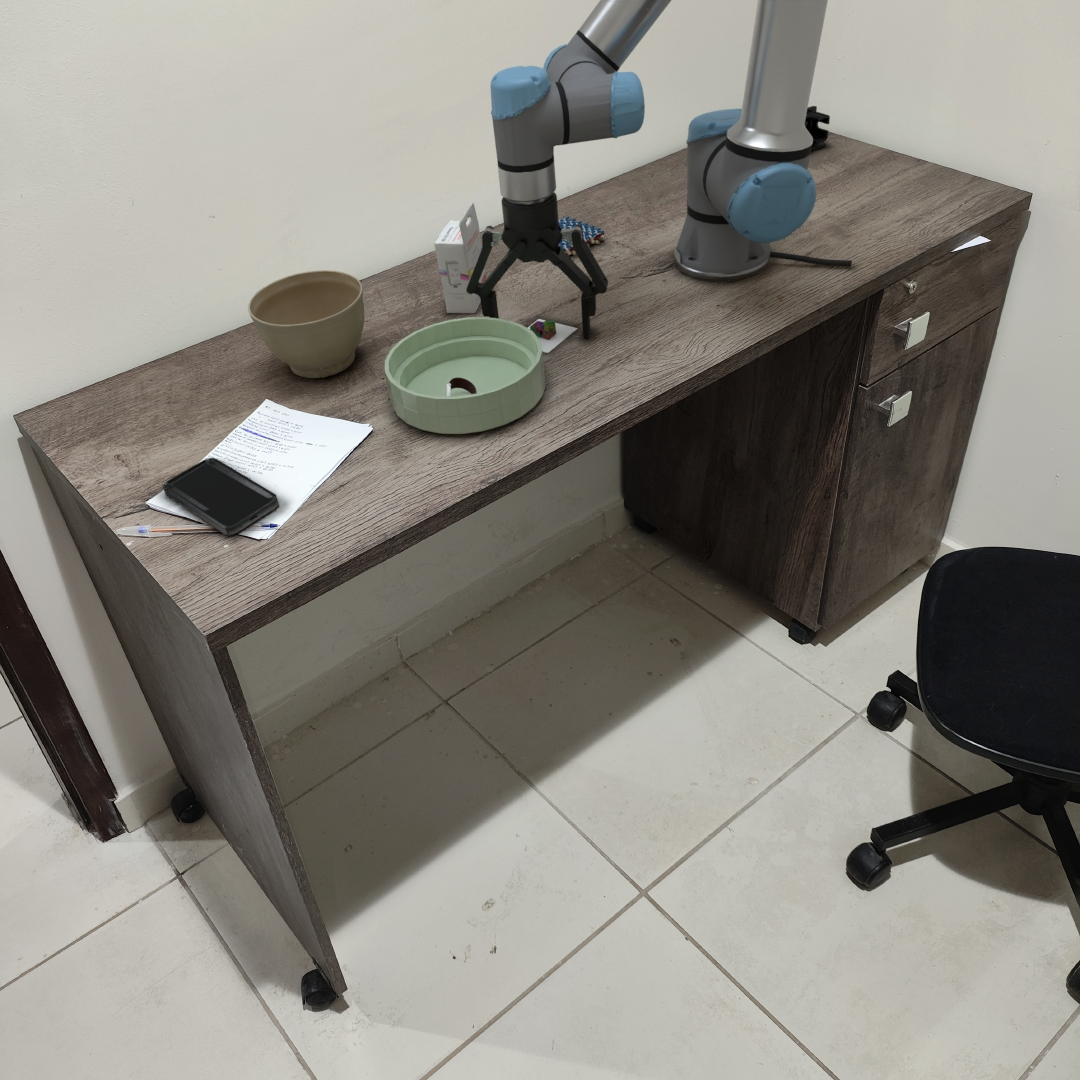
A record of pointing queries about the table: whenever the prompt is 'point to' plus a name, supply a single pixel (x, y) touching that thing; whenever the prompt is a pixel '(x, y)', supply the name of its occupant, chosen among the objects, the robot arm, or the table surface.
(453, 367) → the bowl
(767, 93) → the robot arm
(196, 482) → the phone
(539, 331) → the white paper sheet
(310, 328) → the planter bowl
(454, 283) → the ink cartridge box
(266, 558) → the table surface
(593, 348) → the table surface
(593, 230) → the woven mat
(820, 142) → the end cap
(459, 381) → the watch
